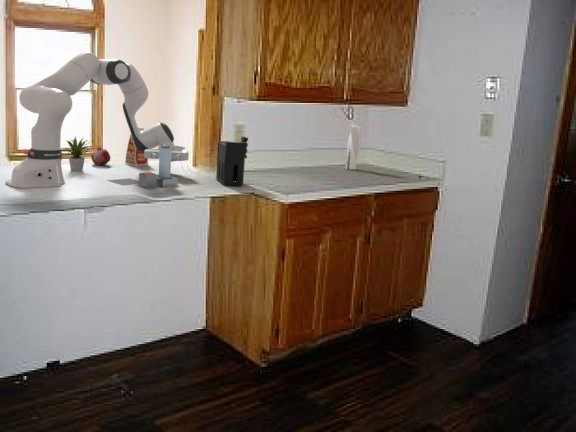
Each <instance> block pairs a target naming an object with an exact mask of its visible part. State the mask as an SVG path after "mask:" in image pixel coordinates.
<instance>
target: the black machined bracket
mask: <svg viewBox="0 0 576 432" xmlns="http://www.w3.org/2000/svg"><path fill="white" fill-rule="evenodd" d="M240 138H241V139H240V140H241V141H239V142H235V141H226V140H220V141H218V142H217V158H216V175H215V176H216V180H217V182H219V183H220V184H222V185H223V186H225V185H226V186H225V187H243V186H244V177H245V162H246V159H248V155H247V153H248V145H249V144H248V141H249V137H246V136H240ZM234 181H236V182H234Z"/></svg>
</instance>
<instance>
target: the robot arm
mask: <svg viewBox="0 0 576 432" xmlns="http://www.w3.org/2000/svg"><path fill="white" fill-rule="evenodd" d="M89 82H91V83H93V84H95V85H104V86H105V85H106V86H112V85H118V87H119V88H120V90H121V92H122V94H123V99H124V102H123V103H122V111H123V114H124V117H125V120H126V123H127V125H128V128H129V131H130V135H131V134H132V138H133V143H134V146H135V148H136V149H137V150H138V151H140V152H144V158H148V160H149V159H152V160H159V151H160V147H161V145H169V146H170V148H171V163H172V162H184V161H189V154H190V153H189V150H187V149H186V147H185V146H178V145H175V143H174V140H175V138H174V134H173V132H172V130H171V129H170V127H169V125H167V124H166V123H165V122H164V123H163V122H158V123H156V124H154V125H151V126H149V127H147V128H146V129H145V128H144V130H143V131H139V129H138V128H139V126H138V123H137V120H136V118H135V116H136V114H137V112H138V111H139V110H140V109H141V108H142V107H143V106H144V105H145V104H146V102H147V100H148V98H149V90H148V87H147V84H146V83H145V81H144V79H143V77H142V75H141V74H140V73H139V71H138V70H137V68H136V67H135V66H134V65H133V64H131V63H128V62H127V63H126V62H125V61H123V60H122V59H118V58H113V59H112V58H100V59H99V58H98V55H96V54H94V53H93V52H91V51H88V50H87V51H83V52H81V53H79V54H78V55H76V56H74V57H73V58H71V59H70V60H69V61H67V62H65V64H64V65H62V67H60V68H59V69H58V70H57V71H55V72H53V74H51V75H49V76H48V77H46V78H43V79H42V80H40V81H38V82H36V83H35V84H32V85H30V86H27V87H25V88H23V89H22V90H21V91H20V93H19V99H18V100H19V103H20V105H21V106H22V107H23V109H26V110H27V111H29V112H31V113H32V114H37V120H36V123H35V125H33V126H32V128H31V129H30V130H31V131H30V134H31V136H30V138H31V145H30V146H31V147H30V148H29V150H28V149H27V148H23V149H22V150H21V153H22V154H23V155H27V157H26V158H25V159H24V160H22V161H21V162H19V164H17V165H15V166H14V167H13V169H12V172H11V179H6V180H5V184H6V185H8V186H10V187H14V188H18V189H19V188H20V189H30V188H34V189H35V188H51V187H52V188H54V187H61V185H64V184H66V182H65V179H64V175H63V170H62V160H63V159H62V158H63V157H62V156H63V155H62V154H63V152H62V149H61V136H62V135H61V132H62V128H63V122H64V120H65V117H66V116H67V115H68V114H69V113H70V112H71V110H72V108H73V100H72V98H71V97H72V96H74V95H75V94H77V93H78V92H79V91H80V90H81V89H82V88H83V87H85V86H86V85H87V84H88V83H89ZM157 147H158V148H157ZM156 148H157V149H156Z"/></svg>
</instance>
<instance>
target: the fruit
mask: <svg viewBox="0 0 576 432" xmlns="http://www.w3.org/2000/svg"><path fill="white" fill-rule="evenodd" d="M90 159H91V161H92V162H93V164H94V165H95V166H105V165H107V164H108V163H109V162H110V161H111V155H110V152H109V151H108V150H107V149H106V148H102V147H101V145H98V146H97V148H96V149H95V150H94V151H93V152H92V153H91V157H90Z"/></svg>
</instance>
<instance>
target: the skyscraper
mask: <svg viewBox="0 0 576 432" xmlns="http://www.w3.org/2000/svg"><path fill="white" fill-rule="evenodd" d="M361 129H362V126H361V125H357V124H355V122H354V121H352V122H350V125H349V131H350V133H349V136H348V140H347V149H346V150H347V151H346V153H347V155H346V156H347V163H346V165H345V167H342V169H344V168H345V169H344V170H346V169H347V170H346V171H358V169H357V163H356V162H357V160H358V155H359V151H360V144H361V143H360V142H361V140H360V139H361V137H360V135H361V134H360V131H361Z"/></svg>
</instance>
